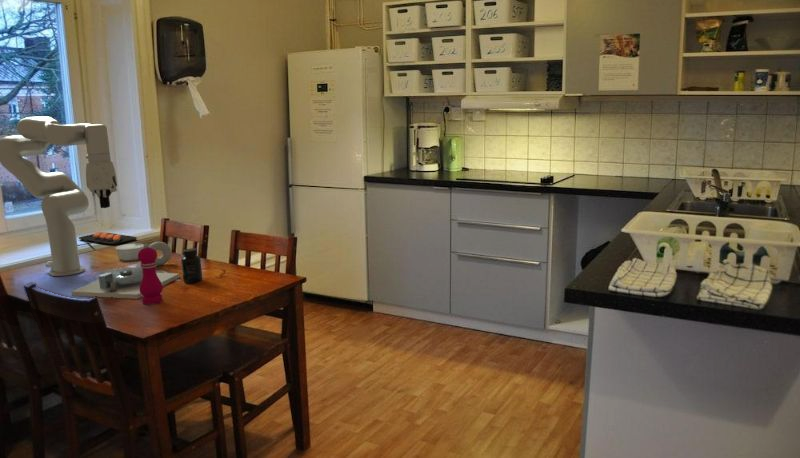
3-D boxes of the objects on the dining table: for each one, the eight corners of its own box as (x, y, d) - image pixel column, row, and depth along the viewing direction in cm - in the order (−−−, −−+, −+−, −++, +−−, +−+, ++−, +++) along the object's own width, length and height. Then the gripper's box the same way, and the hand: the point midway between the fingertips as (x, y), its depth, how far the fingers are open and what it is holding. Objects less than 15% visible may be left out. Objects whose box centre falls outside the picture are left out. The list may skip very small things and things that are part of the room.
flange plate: (120, 270, 249) (119, 259, 248) (163, 272, 245) (161, 260, 244) (80, 287, 228) (78, 275, 227) (126, 289, 224) (124, 277, 223)
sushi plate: (140, 241, 316) (139, 233, 315) (81, 255, 291) (80, 246, 290) (103, 235, 331) (102, 228, 330) (45, 248, 307) (43, 240, 306)
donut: (148, 268, 263) (145, 244, 261) (145, 267, 265) (143, 242, 263) (173, 264, 268) (171, 240, 266) (170, 262, 271) (168, 239, 269)
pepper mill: (144, 298, 223) (138, 241, 219) (166, 297, 224) (160, 240, 220) (138, 305, 216) (131, 246, 212) (160, 304, 217) (154, 245, 213)
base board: (71, 295, 230) (70, 287, 229) (119, 275, 254) (118, 268, 254) (137, 298, 224) (136, 290, 223) (179, 277, 248) (178, 270, 248)
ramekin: (151, 256, 283) (149, 244, 281) (128, 262, 273) (126, 250, 272) (134, 254, 288) (133, 242, 287) (111, 259, 279) (110, 247, 278)
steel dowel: (109, 292, 227) (107, 282, 226) (112, 290, 229) (111, 280, 228) (114, 292, 227) (112, 282, 226) (117, 290, 229) (116, 280, 228)
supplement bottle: (206, 279, 245) (203, 248, 242) (195, 284, 239) (192, 252, 236) (190, 278, 247) (187, 247, 245) (179, 283, 241) (176, 251, 238)
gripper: (74, 159, 240) (81, 209, 244) (110, 159, 237) (116, 209, 241) (88, 157, 247) (94, 205, 251) (123, 157, 244) (129, 205, 248)
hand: (105, 207), depth 246 cm, fingers closed
